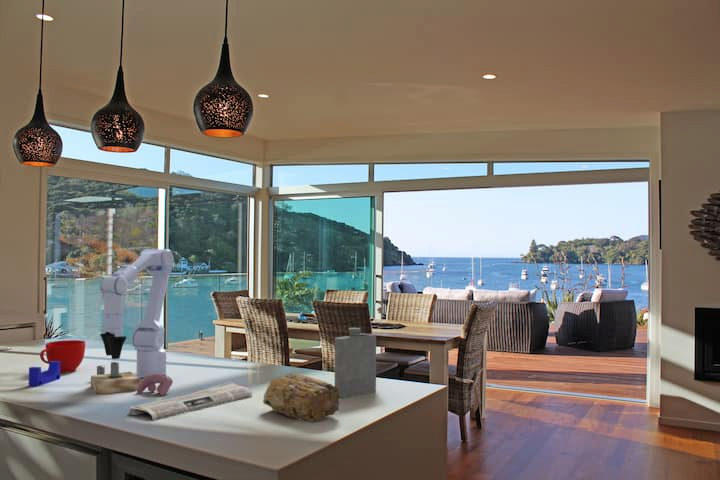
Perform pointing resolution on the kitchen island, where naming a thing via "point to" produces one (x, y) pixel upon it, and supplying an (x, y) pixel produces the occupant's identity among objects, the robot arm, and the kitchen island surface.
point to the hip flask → (355, 363)
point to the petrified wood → (302, 397)
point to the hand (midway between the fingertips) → (112, 357)
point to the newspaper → (193, 401)
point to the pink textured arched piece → (152, 380)
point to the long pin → (114, 369)
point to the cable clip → (44, 374)
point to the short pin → (100, 370)
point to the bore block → (114, 383)
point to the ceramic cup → (65, 354)
